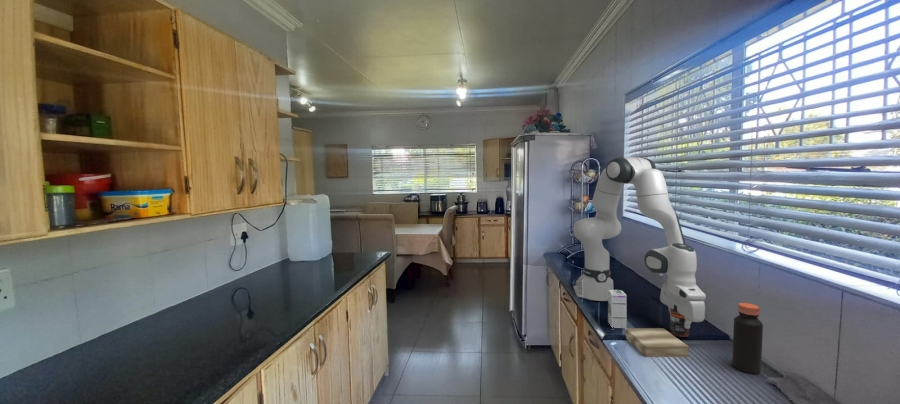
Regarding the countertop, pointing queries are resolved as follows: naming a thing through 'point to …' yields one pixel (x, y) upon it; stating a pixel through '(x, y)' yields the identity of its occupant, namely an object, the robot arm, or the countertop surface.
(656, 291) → the countertop surface
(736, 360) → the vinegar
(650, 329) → the beech block
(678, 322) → the supplement bottle
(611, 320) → the syrup box
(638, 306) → the countertop surface
